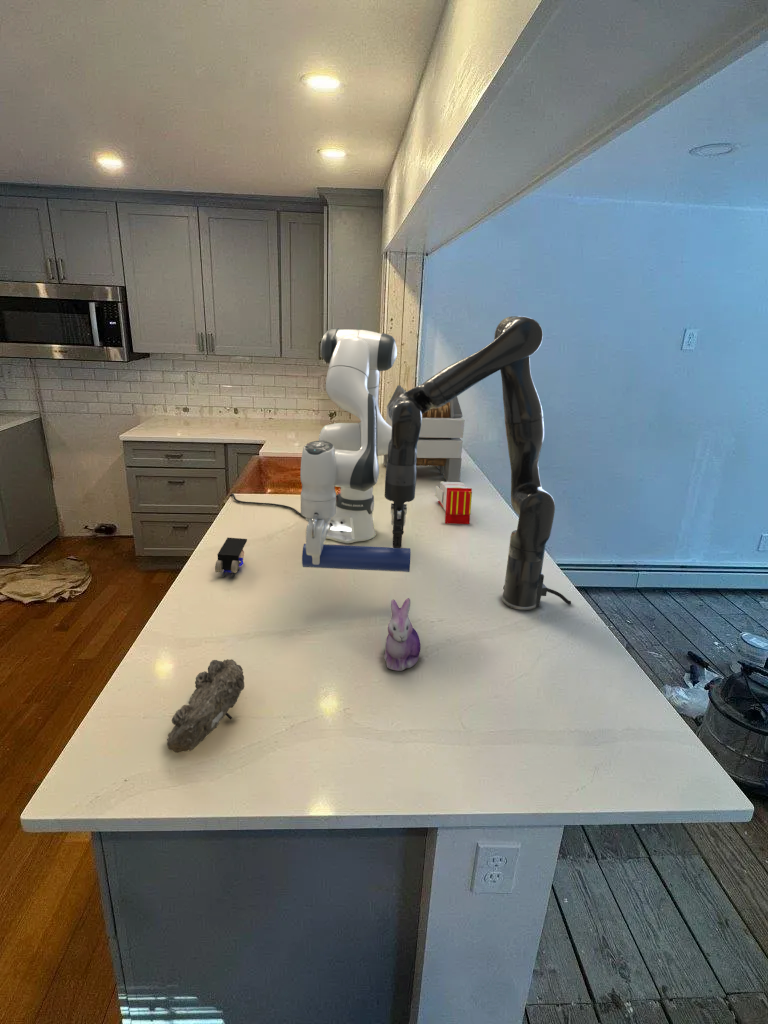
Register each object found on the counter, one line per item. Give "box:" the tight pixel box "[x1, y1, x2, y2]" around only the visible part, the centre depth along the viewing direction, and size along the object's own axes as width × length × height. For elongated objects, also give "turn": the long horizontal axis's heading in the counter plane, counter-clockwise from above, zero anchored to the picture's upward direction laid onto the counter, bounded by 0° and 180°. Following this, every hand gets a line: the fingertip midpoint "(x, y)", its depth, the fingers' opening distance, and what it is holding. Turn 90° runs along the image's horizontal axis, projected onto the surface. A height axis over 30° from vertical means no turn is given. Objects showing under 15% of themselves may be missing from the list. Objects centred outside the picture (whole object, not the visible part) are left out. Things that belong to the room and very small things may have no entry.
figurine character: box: [214, 537, 248, 578], centre depth 166 cm, size 7×8×15 cm
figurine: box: [383, 597, 422, 672], centre depth 125 cm, size 9×10×15 cm
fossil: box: [166, 658, 245, 754], centre depth 106 cm, size 22×10×15 cm
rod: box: [301, 542, 412, 573], centre depth 146 cm, size 27×6×6 cm, turn 89°
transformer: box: [383, 384, 465, 482], centre depth 268 cm, size 34×33×41 cm
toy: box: [434, 481, 473, 525], centre depth 222 cm, size 12×13×30 cm
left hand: (318, 557), depth 147 cm, fingers closed on rod, 6 cm apart
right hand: (396, 540), depth 145 cm, fingers open, 8 cm apart
